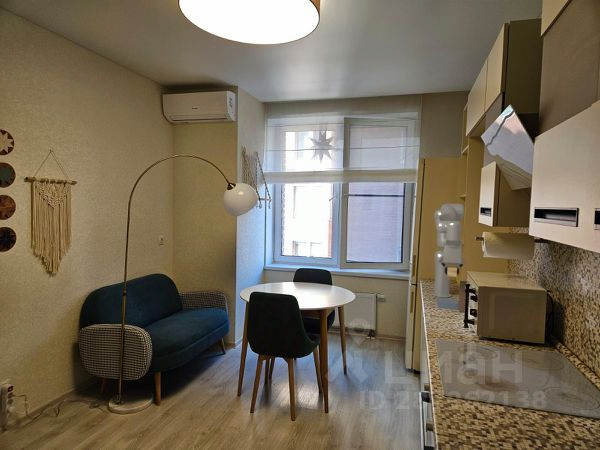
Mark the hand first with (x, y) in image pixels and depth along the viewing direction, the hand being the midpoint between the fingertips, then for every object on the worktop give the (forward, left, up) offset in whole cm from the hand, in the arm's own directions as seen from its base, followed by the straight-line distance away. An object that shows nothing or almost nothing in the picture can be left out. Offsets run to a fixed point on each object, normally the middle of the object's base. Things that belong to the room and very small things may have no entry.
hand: (451, 274), depth 213 cm
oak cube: (0, 0, -1) cm, 1 cm away
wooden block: (-7, +10, -23) cm, 27 cm away
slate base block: (-16, 0, -24) cm, 28 cm away
